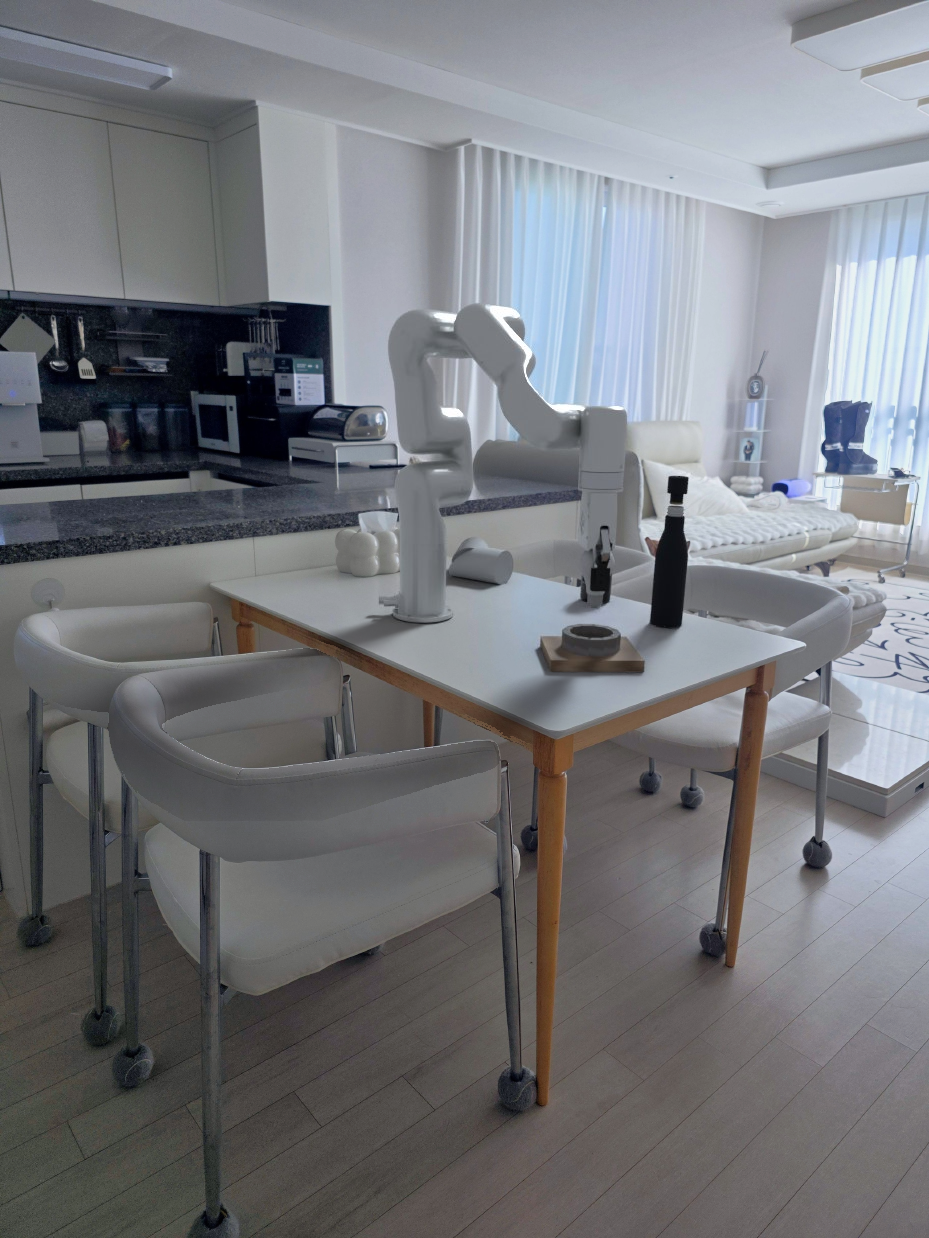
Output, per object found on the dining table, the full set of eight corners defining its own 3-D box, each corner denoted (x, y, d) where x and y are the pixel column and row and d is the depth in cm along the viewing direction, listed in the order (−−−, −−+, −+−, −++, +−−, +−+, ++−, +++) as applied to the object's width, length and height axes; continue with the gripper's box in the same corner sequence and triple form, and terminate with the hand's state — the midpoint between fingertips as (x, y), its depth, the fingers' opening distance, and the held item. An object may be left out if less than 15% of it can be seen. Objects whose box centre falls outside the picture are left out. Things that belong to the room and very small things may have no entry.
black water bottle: (675, 629, 165) (689, 479, 157) (645, 624, 168) (657, 476, 160) (685, 622, 170) (699, 476, 162) (655, 617, 174) (668, 474, 166)
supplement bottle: (576, 602, 185) (579, 549, 182) (584, 595, 192) (587, 544, 188) (606, 605, 183) (610, 552, 180) (613, 598, 189) (616, 547, 186)
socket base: (550, 671, 139) (551, 643, 138) (540, 646, 153) (541, 620, 152) (643, 671, 140) (646, 643, 139) (625, 646, 154) (627, 621, 152)
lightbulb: (611, 613, 140) (615, 550, 137) (575, 611, 141) (578, 548, 139) (612, 605, 146) (616, 543, 143) (578, 603, 147) (580, 542, 144)
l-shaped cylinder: (423, 571, 208) (488, 583, 197) (430, 530, 207) (495, 539, 196) (464, 575, 222) (527, 586, 211) (470, 536, 221) (533, 545, 210)
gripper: (570, 476, 146) (566, 576, 151) (588, 487, 130) (582, 598, 134) (612, 477, 147) (606, 576, 151) (635, 487, 130) (628, 598, 135)
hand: (595, 585), depth 143 cm, fingers closed on lightbulb, 6 cm apart
